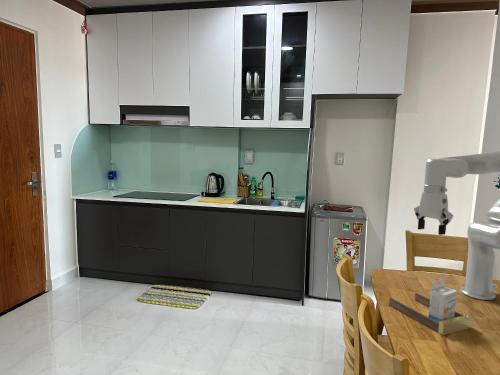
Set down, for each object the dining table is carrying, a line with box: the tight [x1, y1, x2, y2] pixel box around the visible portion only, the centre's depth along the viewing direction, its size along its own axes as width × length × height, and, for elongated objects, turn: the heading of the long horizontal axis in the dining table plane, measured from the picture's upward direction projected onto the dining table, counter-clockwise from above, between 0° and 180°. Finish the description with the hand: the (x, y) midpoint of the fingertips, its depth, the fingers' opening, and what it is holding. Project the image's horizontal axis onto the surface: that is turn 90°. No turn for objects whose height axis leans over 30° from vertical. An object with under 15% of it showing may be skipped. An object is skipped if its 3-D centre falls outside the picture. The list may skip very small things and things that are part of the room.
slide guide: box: [388, 292, 474, 336], centre depth 127 cm, size 14×24×4 cm, turn 22°
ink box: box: [427, 277, 458, 323], centre depth 122 cm, size 8×5×15 cm, turn 122°
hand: (431, 231), depth 139 cm, fingers open, 9 cm apart
